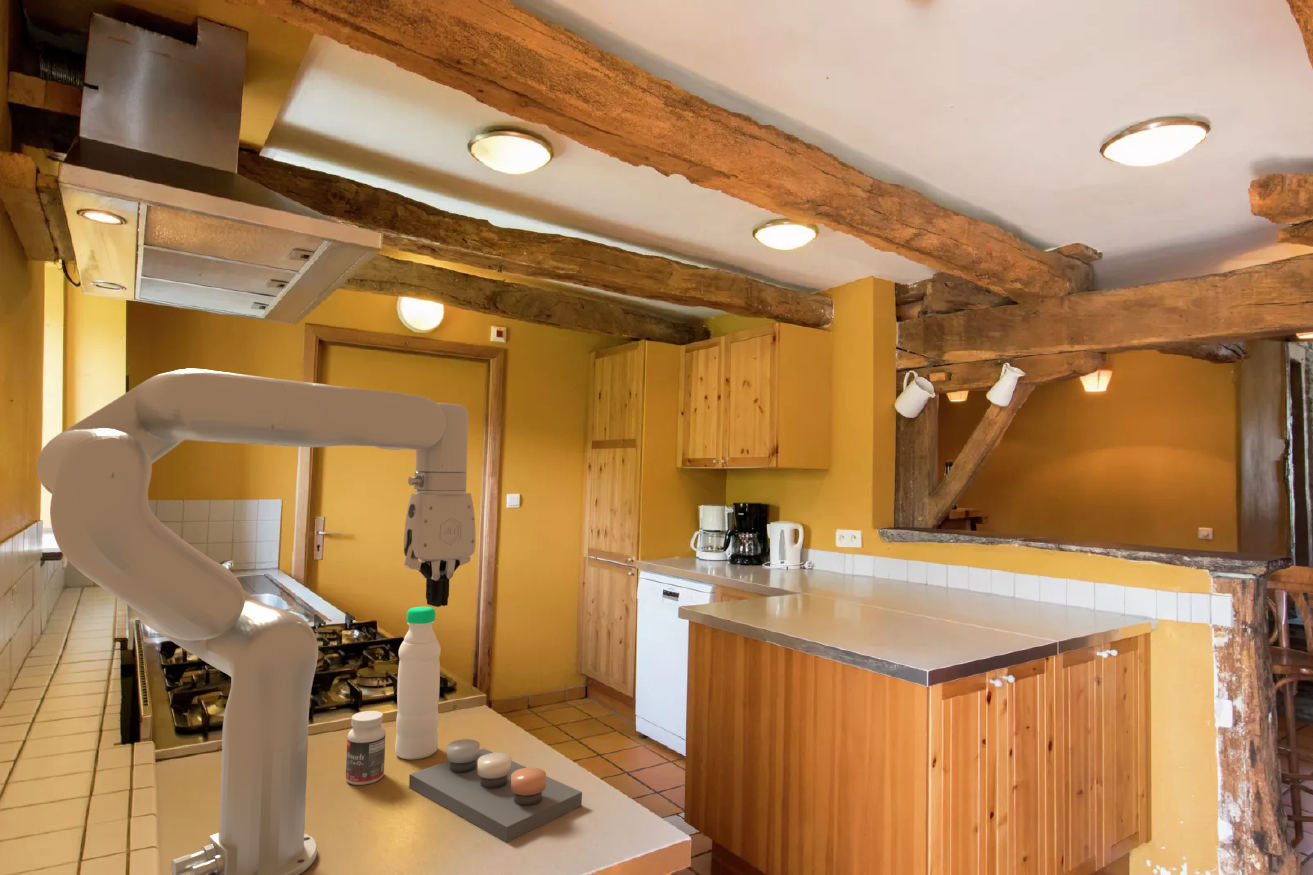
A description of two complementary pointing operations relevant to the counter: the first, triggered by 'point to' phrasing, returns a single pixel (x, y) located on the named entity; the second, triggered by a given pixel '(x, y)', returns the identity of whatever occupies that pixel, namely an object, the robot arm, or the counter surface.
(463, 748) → the bluegrey button
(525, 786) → the terracotta button
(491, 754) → the white button
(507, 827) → the button panel
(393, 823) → the counter surface
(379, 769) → the pill bottle
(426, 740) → the water bottle
